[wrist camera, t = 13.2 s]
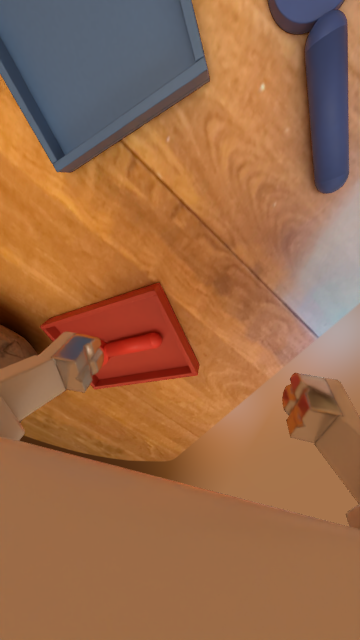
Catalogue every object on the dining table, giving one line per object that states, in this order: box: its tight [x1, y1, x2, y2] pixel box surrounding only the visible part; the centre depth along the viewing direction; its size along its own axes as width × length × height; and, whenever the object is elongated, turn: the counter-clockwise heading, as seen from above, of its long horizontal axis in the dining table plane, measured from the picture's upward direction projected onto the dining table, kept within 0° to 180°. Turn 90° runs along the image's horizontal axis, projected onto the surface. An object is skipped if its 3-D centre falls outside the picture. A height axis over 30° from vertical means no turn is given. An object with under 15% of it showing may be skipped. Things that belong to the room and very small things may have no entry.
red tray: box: [40, 283, 199, 389], centre depth 29 cm, size 13×18×2 cm
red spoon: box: [99, 333, 162, 366], centre depth 29 cm, size 14×5×2 cm, turn 113°
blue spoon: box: [268, 0, 349, 193], centre depth 13 cm, size 14×5×2 cm, turn 23°
